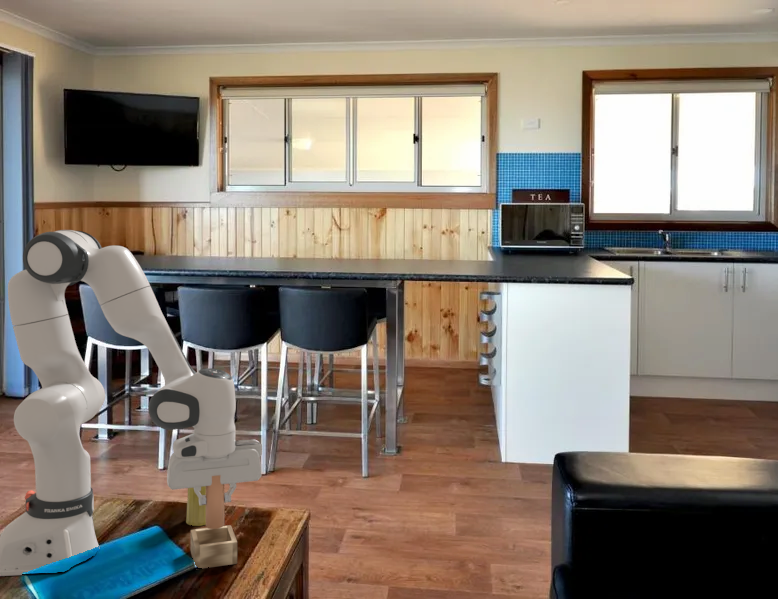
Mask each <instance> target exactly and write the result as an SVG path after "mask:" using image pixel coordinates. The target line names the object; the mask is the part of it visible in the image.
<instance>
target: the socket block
mask: <svg viewBox="0 0 778 599" xmlns="http://www.w3.org/2000/svg"><path fill="white" fill-rule="evenodd" d="M190 554H191V557H192V558H193V559H192V558H191V559H192V561H193V560H194V562H195V565H196V566H197V567H198V568H202V569H209V568H216V567H222V566H228V565H229V566H230V565H236V564H238V540H237V538H236V534H235V532H234V530H233V527H232V525H230V524H229V525H224V526H223V527H221V528H217V529H210V528H207V527H203V528H196V529H190ZM208 567H209V568H208Z"/></svg>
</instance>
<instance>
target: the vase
mask: <svg viewBox="0 0 778 599" xmlns="http://www.w3.org/2000/svg"><path fill="white" fill-rule="evenodd" d="M199 492H200V493H201V495H206V486H202V487H201V491H199ZM186 502H187V503H186V519H185V523H186V524H187V525H189V526H191V525H192V526H193V527H201V526H202V527H203V526H206V505H201V506H199V498H198V496H197V495H196V493H195V491H194V487H193V488H187V501H186Z"/></svg>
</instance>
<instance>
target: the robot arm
mask: <svg viewBox="0 0 778 599" xmlns="http://www.w3.org/2000/svg"><path fill="white" fill-rule="evenodd" d="M22 263H23V266H24V268H25V269H23V270H21V271H19V272H17V273H15V274H14V275H12V276H11V278H10V279H9V280H8V284H7V297H8V298H7V300H8V308H9V315H10V320H11V324H12V329H13V332H14V336H15V340H16V345H17V348H18V352H19V356H20V357H19V358H20V359H21V361H22V363H23V364H24V365H25V366H27V367H29V368H30V369H31V370H32V371H33V373H34V374H35V375H36V377H37V379H38V381H39V382H40V385H41V388H40V389H37V390H35V391H33V392H31V393H30V394H28V396H27V397H25V399H24V400H22V401H21V402H20V404H19V405H18V406H17V407H16V408H15V411H14V414H13V424H14V428H15V430H16V432H17V434H19V436H20V437H22V439H24V440H25V441H27V443H28V445H29V447H30V450H31V453H32V456H33V457H32V458H33V461H34V462H33V463H34V472H35V473H34V476H35V491H34V490H31V489H30V490H28V491H27V492H26V493H25V496H24V499H25V507H24V508H25V512H23V513H22V514H21V515H19V516H18V517H17V518H15V519H14V520H12V521H11V522H10V523H9V524H8V525H6V526H5V527H4V528H3V530H2V532H1V533H0V577H5V576H6V577H7V576H23V575H22V573H23V572H28V571H30V570H33V569H36V568H39V567H41V566H44V565H46V564H50V563H52V562H56V561H59V560H62V559H65V558H69V557H71V556H74V555H77V554H79V553H83V552H85V551H87V550H91V549H93V548H95V547H98V546H99V547H100V545H99V542H98V540H97V536H96V532H95V527H94V520H93V514H94V509H95V507H94V505H95V501H94V500H95V499H94V490H93V487H92V481H91V480H92V477H91V476H92V475H91V467H92V466H91V456H90V453H89V452H88V451H87V450H86V449H85V448H84V446H83V444H82V440H81V437H80V429H81V425H83V424H85V423H87V422H88V421H90V420H91V419H93V418H94V417H95V415H97V413H98V412H99V411H100V410H101V408H102V406H103V405H104V403H105V399H106V392H105V388H104V386H103V384H102V383H101V381H100V380H99V379H97V378H96V377H94V376H93V374H91V372H90V370H89V368H88V366H86V363H85V362H84V360H83V358H82V355H81V353H80V351H79V349H78V348H79V347H78V346H77V343H76V342H77V341H76V340H75V339H76V338H75V335H74V331H73V328H72V323H71V319H70V315H69V311H68V308H67V304H66V298H65V293H66V289H67V287H68V286H73V285H75V284H77V283H79V282H82V283H83V282H84V283H85V284H87V285H88V286H89V287H90V289H92V291H93V293H94V295H95V298H96V299H97V302H98V304H99V306H100V309H101V311H102V313H103V315H104V318H105V319H106V320H107V322H108V324H109V325H110V326H111V328H112V330H114V332H115V333H117V334H119V335H120V336H123V337H127V338H130V339H133V340H135V341H137V342H139V343H141V344H142V345H144V347H146V348H147V350H149V352H150V354H151V356H152V358H153V360H154V361H155V363H156V365H157V367H158V369H159V371H160V373H161V375H162V377H163V379H164V385H163V386H162V387H161V388H159V389H158V390H156V392H155V393H154V394H153V395H152V396H151V398H150V399H149V403H148V409H147V410H148V415H149V418H150V419H151V421H152V422H153V423H154V425H156V426H157V427H159V428H161V429H163V430H165V431H166V430H167V431H172V430H181V429H187V428H193V433H191V434H189V435H186V436H183V437H180V438H178V439H177V438H176V439H175V440H174V441H173V445H172V451H173V452H172V454H171V455H170V457H169V459H168V460H169V461H168V467H167V472H166V473H167V475H166V483H167V486H168V487H169V489H170V490H184V489H188V488H193V487H194V491H195V493H196V495H197V496H198V498H199V506H201V505H206V495H201V493H200V492H199V491H201V487H202V486H210V485H211V484H212V476H219V475H221V476H220V482H221V484H224V485H228V487H229V488H228V489H227V492H224V504H226V503H231V502H232V495H233V494H234V492H235V490H237V484H238V483H239V484H240V483H247V482H257V481H259V480H260V478H261V477H262V465H261V456H262V454H263V446H262V443H261V442H260V441H258V440H256V439H254V438H251V439H247V440H244V439H240V440H236V434H237V433H236V431H237V430H236V429H237V428H236V424H235V418H234V417H235V413H236V409H237V408H236V405H237V404H236V387H235V383H234V379H233V377H232V375H231V374H229V373H228V372H226V371H225V370H222V369H219V368H218V369H217V368H211V367H210V368H208V367H207V368H206V367H205V368H201V369H199V370H198V371H197V372H196V371H195V369H194V368H193V367H192V366H191V365H190V362H189V361H188V359H187V357H186V355H185V353H184V351H183V349H182V347H181V346H180V344H179V342H178V339H177V338H176V336H175V334H174V332H173V331H172V328H171V327H170V325H169V324H168V322H167V320H166V318H165V316H164V314H163V312H162V310H161V307H160V305H159V302H158V300H157V298H156V295H155V293H154V291H153V288H152V286H151V284H150V282H149V280H148V278H147V276H146V274H145V272H144V270H143V269H142V267H141V265H140V264H139V262H138V260H137V259H136V257H135V256H134V255H133V253H132V252H131V251H130V250H129V248H127V247H124V246H122V245H108V246H104V247H102V245H101V243H100V242H99V241H98V239H97V238H96V237H95V236H93V235H92V234H90V233H87V232H85V231H83V230H73V229H59V230H54V231H45V232H42V233H40V234H37V235H35V236H34V237H33V238H31V239H30V240H29V241H28V242H27V243H26V245H25V248H24V250H23V254H22Z"/></svg>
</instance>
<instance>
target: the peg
mask: <svg viewBox="0 0 778 599" xmlns="http://www.w3.org/2000/svg"><path fill="white" fill-rule="evenodd" d="M220 476H221V475H219V476H212V484H211V485H210V486H206V525H205V528H210V529H217V528H221V527H223V526H225V503H224V493H225V484H221V482H220Z"/></svg>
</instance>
